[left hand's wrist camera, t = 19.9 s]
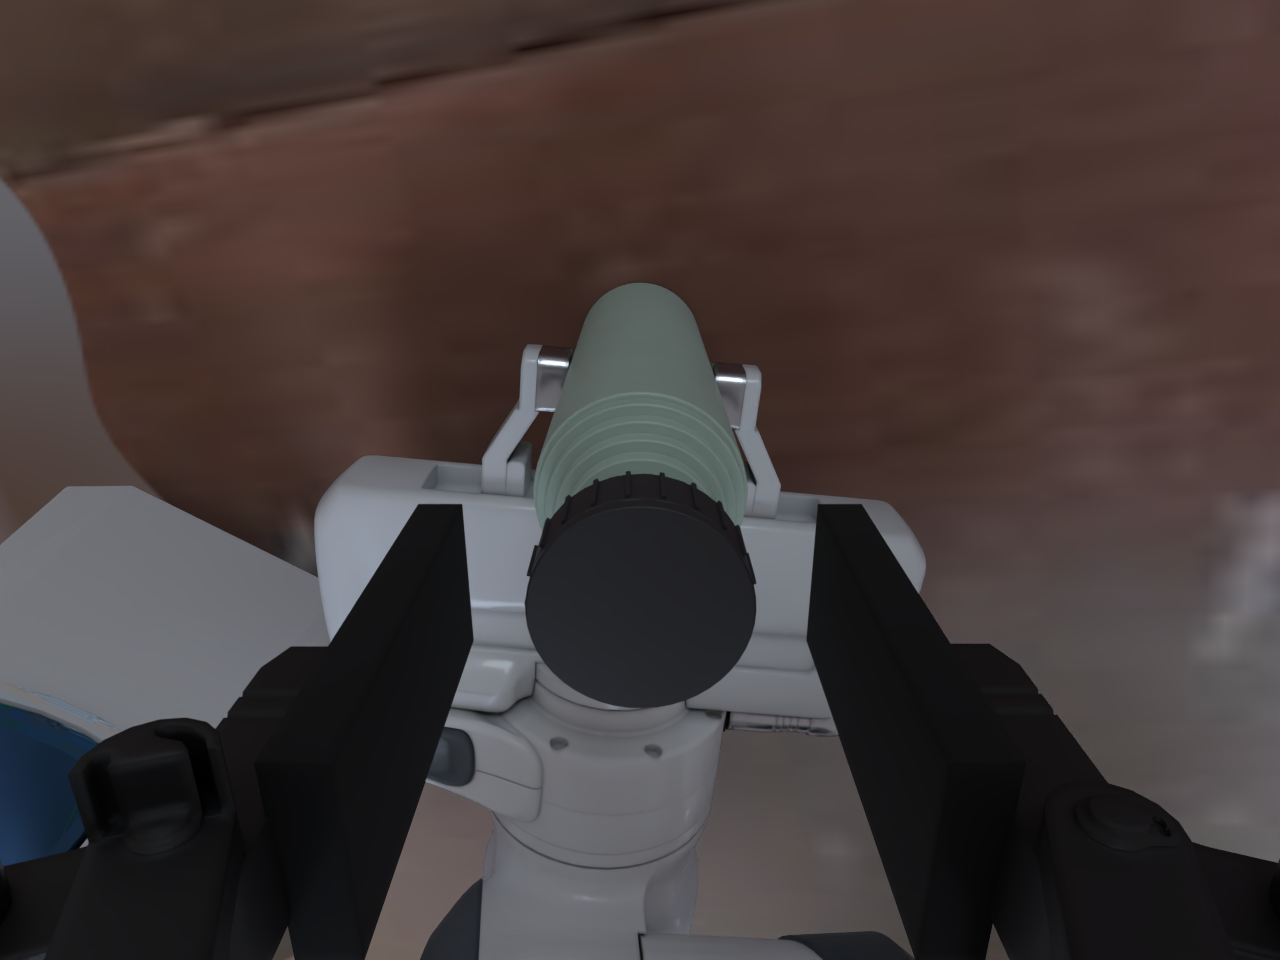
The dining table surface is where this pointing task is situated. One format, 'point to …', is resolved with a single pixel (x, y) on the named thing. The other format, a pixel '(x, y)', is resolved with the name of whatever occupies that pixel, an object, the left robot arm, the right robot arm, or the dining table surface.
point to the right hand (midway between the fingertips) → (641, 357)
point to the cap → (640, 592)
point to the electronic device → (124, 640)
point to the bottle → (640, 405)
